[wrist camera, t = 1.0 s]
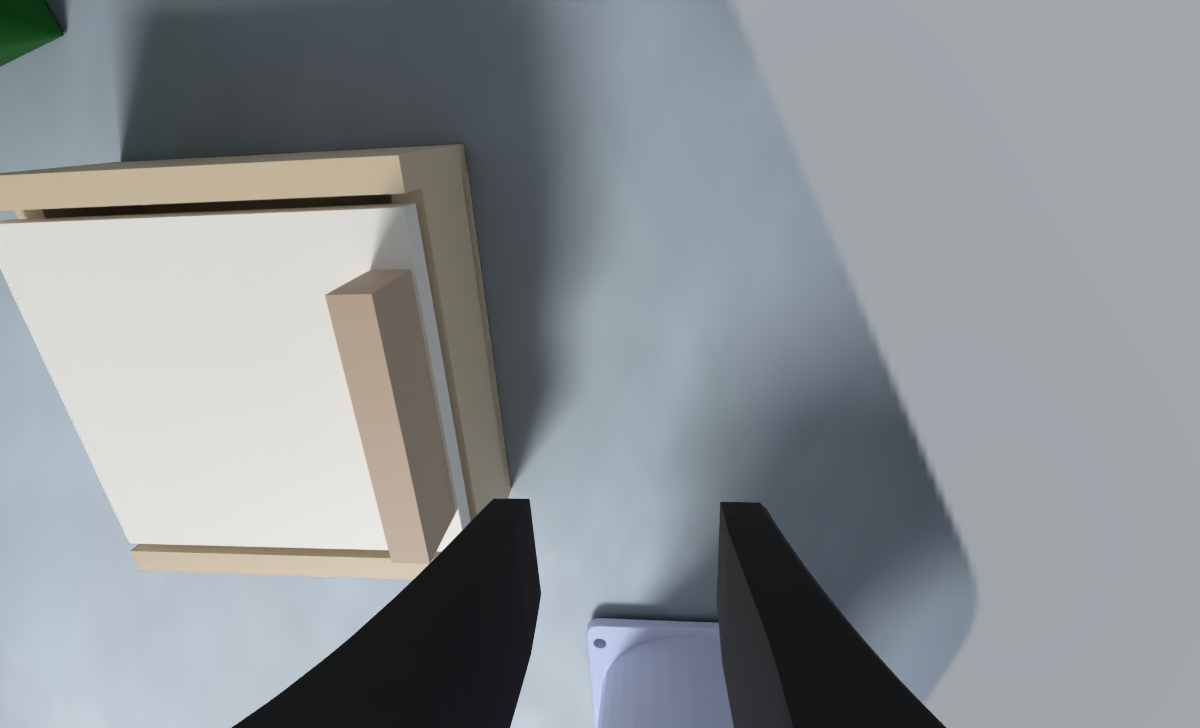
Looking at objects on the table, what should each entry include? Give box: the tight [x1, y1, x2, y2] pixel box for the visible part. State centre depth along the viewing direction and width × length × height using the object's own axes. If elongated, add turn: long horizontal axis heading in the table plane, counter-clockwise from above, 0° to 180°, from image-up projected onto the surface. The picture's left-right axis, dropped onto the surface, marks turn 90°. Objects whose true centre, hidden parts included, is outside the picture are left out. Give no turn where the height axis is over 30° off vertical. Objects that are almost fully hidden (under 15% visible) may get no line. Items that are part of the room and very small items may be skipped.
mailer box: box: [0, 144, 511, 580], centre depth 18 cm, size 12×11×5 cm
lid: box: [0, 203, 471, 564], centre depth 15 cm, size 10×11×3 cm
